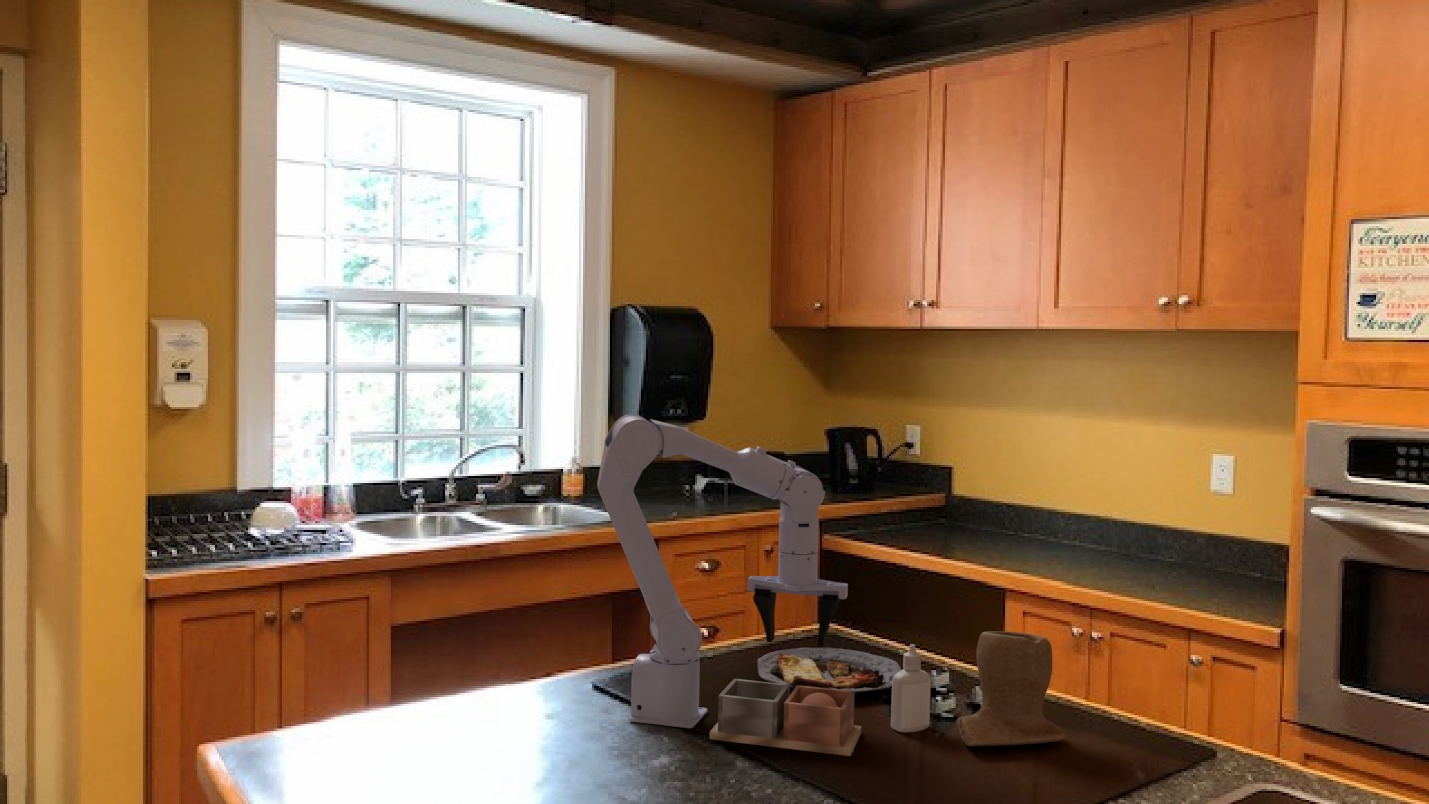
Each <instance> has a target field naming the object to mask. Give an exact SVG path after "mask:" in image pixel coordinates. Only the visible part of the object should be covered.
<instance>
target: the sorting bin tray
mask: <svg viewBox="0 0 1429 804" xmlns="http://www.w3.org/2000/svg"><path fill="white" fill-rule="evenodd" d="M813 693H825V694H827V695H829V696H830V697H832V698H833V699H834V700H835V702H836V704H837V706H838V707H830V706H821V705H812V704H803V703H802V701H803V700H804V699H805V698H806V697H807V696H808V695H810V694H813ZM855 694H856V693H855V691H847V690H837V689H828V688H818V687H809V686H799V685H797V686H796V687H795V689H792V692H791V688H790V684H780V683H771V682H767V681H762V680H761V681H760V680H751V679H750V680H749V679H740V678H733V679H732V680H731V682H730V683H729V684H727V686H726V687H725V688H724V689H723V690H722V691H721V692H720V693H719V695H718V697H717V698H718V702H717V703H718V704H717V705H718V706H717V722H716V724H715V725H714V726H713V727H712V729H711V730H710V731H709V740H713V741H714V740H715V741H722V742H729V743H730V742H732V743H738V744H739V743H740V744H746V745H747V744H748V745H754V746H755V745H756V746H761V747H762V746H764V747H771V748H781V749H786V750H787V749H788V750H789V749H790V750H797V751H803V752H805V751H806V752H812V753H821V754H830V755H839V756H846V757H851V756H852V754H853V753H854V749H855V747H856V745H857V743H858V740H859V739H860V736H861V734H862V726H861V725H855V724H854V723H855Z"/></svg>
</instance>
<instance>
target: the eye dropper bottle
mask: <svg viewBox="0 0 1429 804" xmlns="http://www.w3.org/2000/svg"><path fill="white" fill-rule="evenodd" d="M916 648H917V647H916V644H913V643H911V644H909V648H908V651H907V652H904V653H903V657H902V658H903V660H902V661H903V662H902V663H903V664H902V666H903V667H902V668H903V669H901V671H899V672H898V673H897V674H895V675H894V677H893V680H892V688H891V700H890V701H891V702H890V703H891V704H890V708H891V709H890V710H891V711H890V727H891V728H892V730H895V731H896V732H899V733H917V732H921V731H923V730H926V729H927V728H928V727H929V726H930V721H931V720H930V715H931V714H930V713H931V711H930V710H931V676H930V674H929V673H928V672H926V671H925V670H922V669H921V667H922V666H921V664H922V662H921V661H922V655H921V653H918V652H917V650H916Z"/></svg>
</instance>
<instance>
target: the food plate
mask: <svg viewBox="0 0 1429 804" xmlns="http://www.w3.org/2000/svg"><path fill="white" fill-rule="evenodd" d="M756 663H757V664H756V665H757V674H758V676H759V677H760V679H762V680H763V681H764V682H771V683H780V684H790V690H794V689H795V687H796V686H797V685H799V686H809V687H818V688H828V689H837V690H847V691H855V694H862V693H868V692H873V691H886V690H888V689H892V688H891V687H892V680H893V677H894V675H895V674H897V673H898V672H899V671H901V670H902V668H901V666H900V665H899V664H898V661H895V660H893V659H892V658H891V659H890V658H889V657H884V656H880V655H876V654H871V653H869V652H864V651H860V650H852V649H844V648H840V647H837V648H835V647H799V648H791V649H782V650H776V651H773V652H769V653H766V654H764V655H763V656H761V657H759V658H757V660H756ZM817 665H825V666H826V670H823V672H822V671H821V669H820V668H818V666H817ZM851 668H854V669H860V672H858V673H857V671H855V672H854V671H851V672H850V669H851Z"/></svg>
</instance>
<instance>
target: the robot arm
mask: <svg viewBox="0 0 1429 804" xmlns="http://www.w3.org/2000/svg"><path fill="white" fill-rule="evenodd" d="M603 441H604V442H603V443H604V444H603V452H602V456H601V462H600V466H599V472H598V477H597V482H596V484H597V486H596V487H597V490H598V493H599V495H600V497H601V499H602V503H603V504H604V506H605V510H606V512H607V514H608V516H609V518H610V522H611V523H612V526H613V528H614V531H615V533H616V535H617V538H618V540H619V543H620V545H621V548H622V549H623V552H624V554H625V556H626V559H627V562H628V564H629V566H630V568H631V571H632V574H633V575H634V578H635V581H636V582H637V584H638V587H639V589H640V591H641V594H642V596H643V599H644V602H645V604H646V605H645V606H646V608H647V610H648V612H649V616H650V619H649V620H650V621H649V631H650V634H651V636H652V637H653V639H654V640H655V643H654V645H653V647H652V648H651V650H650V651H649V653H639V654H638V655H637V657H636V658H635V659H634V662H633V665H632V670H631V685H630V687H631V689H630V692H631V693H630V694H631V697H630V698H631V699H630V702H631V703H630V716H629V718H628V720H629V722H632V723H634V722H635V723H641V724H650V725H659V726H665V727H666V726H667V727H675V728H683V729H684V728H685V729H693V728H694V727H695V726H696V725H697V724H698V723H699V722H700V720H701V719H702V718H703V717H704V716H705V715H706V714H707V712H708V708H707V707H699V706H700V670H701V669H700V667H701V666H700V661H701V653H700V652H699V651H700V649H701V647H702V645H703V643H702V641H703V635H702V631H701V629H700V628H699V626H698V625H697V624H696V622H694V620H693V619H692V618H693V617H692V616H691V613H690V612H689V610H688V609H687V608H685V607H684V606H683V605H682V602H681V600H680V597H679V596H678V594H677V591H676V590H675V588H674V584H673V583H672V580H671V578H670V575H669V573H668V571H667V569H666V566H665V564H664V561H663V557H662V556H661V553H660V552H659V549H658V547H657V545H656V542H655V539H654V536H653V535H652V532H651V530H650V528H649V525H648V523H647V520H646V518H645V516H644V513H643V511H642V508H641V506H640V504H639V501H638V499H637V497H636V494H635V492H634V489H635V487H636V485H637V483H638V481H639V479H640V477H641V474H643V471H644V470H645V469H646V468H647V467H648V466H649V464H651V463H652V462H653V460H655V458H657V456H658V455H659V456H661V457H662V458H663V459H664V458H669V457H673V456H677V455H683V456H686V457H688V458H690V459H693V460H695V461H699V462H702V463H703V464H704V463H705V464H707V465H709V466H712V467H715V468H718V469H720V470H722V471H725V472H728V473H729V474H730V478H731V480H732V482H733V483H734V485H735V486H738V487H742V488H744V489H747V491H748V490H749V491H751V492H754V493H757V494H759V495H761V496H764V497H766V498H768V499H771V500H779V502H780V505H779V506H780V508H779V509H780V510H779V511H780V512H779V513H780V514H779V522H778V523H779V524H778V525H779V526H778V527H779V528H778V562H777V565H778V566H777V568H778V569H777V576H769V575H767V576H766V575H765V576H763V575H761V576H760V575H759V576H757V575H751V576H749V577H748V578H747V592H753V593H754V595H753V596H752V599H753V603H754V605H755V606H756V607H755V608H757V611H758V614H759V616H760V618H761V620H762V624H763V628H764V633H765V637H766V640H765V641H766V643H772V642H773V641H774V640H775V637H776V636H775V633H776V627H775V625H776V624H775V610H776V601H777V593H779V594H789V595H790V594H791V595H793V594H794V595H800V596H801V595H802V596H803V595H804V596H815V597H816V596H817V597H821V598H820V599H819V600H818V603H817V604H818V619H819V620H818V621H819V623H818V625H819V627H818V634H817V635H818V636H817V637H818V638H817V645H818V647H817V648H822V647H823V648H825V645H826V643H827V641H826V640H827V635H828V632H829V627H830V625H831V622H832V619H833V616H834V614H835V612H836V610H837V607H838V605H839V604H840V602H841V600H846V599H847V597H848V596H849V594H848V593H849V592H848V591H849V587H848V586H849V584H848V583H844V582H836V581H831V580H825V579H820V578H819V579H818V559H819V557H818V555H819V552H818V551H819V522H820V521H819V507H820V506H821V505H822V503H823V501H824V500H825V499H824V498H825V497H826V496H825V495H826V491H825V490H824V487H823V483H822V481H821V480H820V479H819V477H818V476H817V475H816V474H814V473H812V472H811V471H808V470H806V469H804V468H802V467H801V466H799V465H796V462H795V461H793V460H789V459H788V460H787V462H786V461H785V460H781V459H779V458H777V457H774V456H772V455H770V454H767V452H768V451H767V449H765V448H763V447H761V446H756V448H755V449H754V448H753V447H750V446H749V447H746V448H743V449H741V450H738V451H736V450H733V449H730V448H728V447H726V446H724V445H721V444H719V443H718V442H717V443H716V442H714V441H712V440H710V439H707V438H706V437H703V436H700V435H698V434H696V433H695V432H691V431H690V430H687V429H685V428H682V427H681V426H679V425H678V426H677V425H675V424H671V423H668V422H663V421H660V420H656V419H655V420H654V419H650V421H649V420H647V419H646V418H644V417H643V416H641V415H637V414H626V415H623V416H621V417H619V419H617V420H616V421H615V422H614V423H613V425H612V426H611V428H610V429H609V431H608V433H607V435H606V437H605V438H604V440H603Z"/></svg>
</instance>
